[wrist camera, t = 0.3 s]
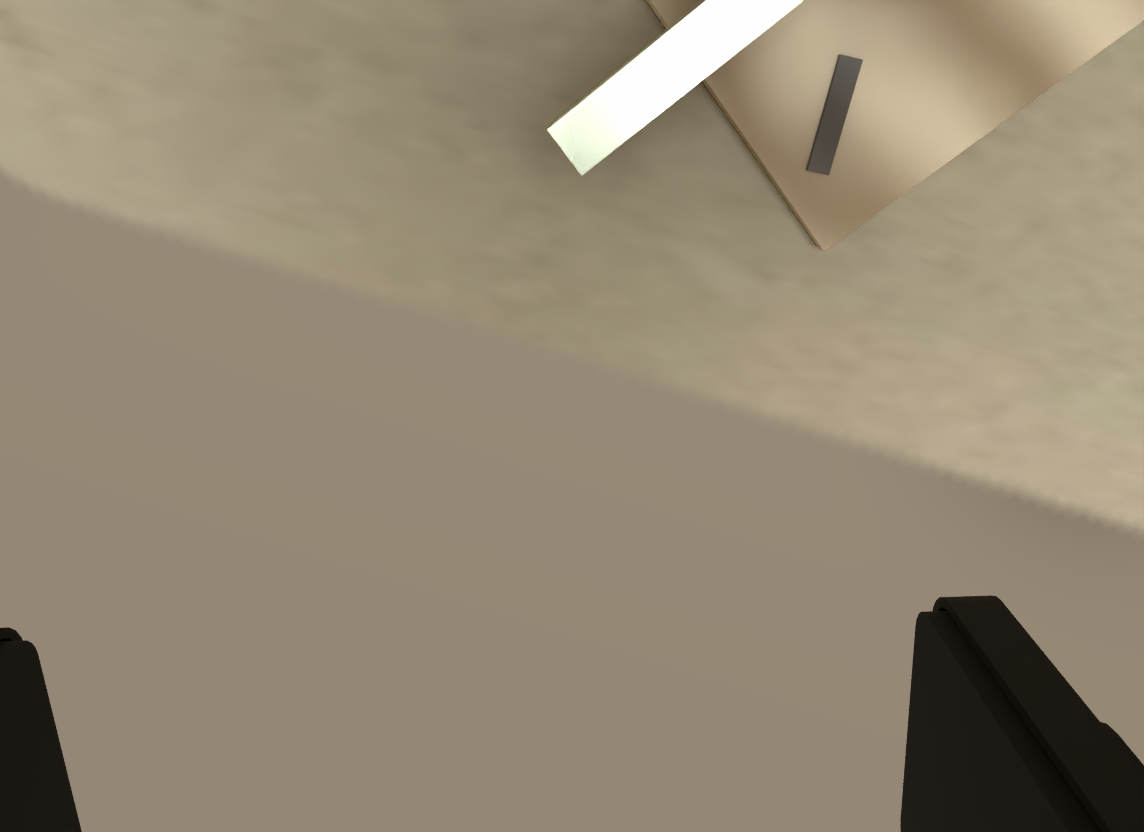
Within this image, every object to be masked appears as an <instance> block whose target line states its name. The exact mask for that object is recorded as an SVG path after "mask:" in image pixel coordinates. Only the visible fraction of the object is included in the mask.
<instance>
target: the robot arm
mask: <svg viewBox="0 0 1144 832" xmlns="http://www.w3.org/2000/svg"><path fill="white" fill-rule="evenodd" d="M0 832H81V827H80V823H79V819H78V815H77V811H76V807H75V803H74V799H73V795H72V791H71V787H70V782H69V779H68V775H67V771H66V766H65V762H64V758H63V754H62V750H61V746H60V742H59V738H58V734H57V729H56V725H55V721H54V717H53V713H52V709H51V705H50V701H49V697H48V693H47V689H46V685H45V680H44V676H43V673H42V669H41V664H40V660H39V656H38V653H37V650H36V648H35V646H34V645H33V644H32V643H31V642H29V641H23V640H22V638H21V637H20V635H19V634H18V633H17V631H16V630H13V629H11V628H0ZM901 832H1144V765H1143V764H1142V763H1141V762H1140V760H1139V759H1138V758H1137V757H1136V755H1134V753H1133V752H1132V751H1131V749H1130V748H1129V747H1128V746H1127V745H1126V743H1125V742H1124V741H1123V740H1122V739H1121V737H1120V736H1119V735H1118V734H1117V733H1116V732H1115V731H1114V730H1113V729H1112V728H1111V727H1110V726H1108V725H1107V724H1105V723H1102V722H1100V721H1099V720H1098V719H1097V718H1096V717H1095V715H1094V714H1093V713H1092V711H1091V710H1090V709H1089V708H1088V707H1087V705H1086V704H1085V703H1084V702H1083V701H1082V699H1081V698H1080V697H1079V695H1078V694H1077V693H1076V692H1075V691H1074V689H1073V688H1072V687H1071V686H1070V685H1069V683H1068V682H1067V681H1066V680H1065V678H1064V677H1063V676H1062V675H1061V673H1060V672H1059V671H1058V670H1057V668H1056V667H1055V666H1054V665H1053V664H1052V663H1051V661H1050V660H1049V659H1048V657H1047V656H1046V655H1045V654H1044V652H1043V651H1042V650H1041V649H1040V648H1039V646H1038V645H1037V644H1036V643H1035V641H1034V640H1033V639H1032V638H1031V637H1030V635H1029V634H1028V633H1027V632H1026V630H1025V629H1024V628H1023V627H1022V625H1021V624H1020V623H1019V622H1018V621H1017V620H1016V618H1015V617H1014V616H1013V615H1012V614H1011V612H1010V611H1009V610H1008V608H1007V607H1006V606H1005V605H1004V603H1003V602H1002V601H1001V600H1000V599H999V598H998V597H996V596H969V597H968V596H967V597H966V596H965V597H940V598H938V599H937V600H936V602H935V605H934V607H933V611H932V612H920V613H919V615H918V617H917V620H916V627H915V642H914V654H913V667H912V679H911V692H910V706H909V718H908V731H907V744H906V757H905V771H904V783H903V796H902V809H901Z"/></svg>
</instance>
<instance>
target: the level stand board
mask: <svg viewBox="0 0 1144 832" xmlns="http://www.w3.org/2000/svg"><path fill="white" fill-rule="evenodd" d="M646 1H647V2H648V4H649V5H650V6H651V8H652V9H653V11H654V12H655V14H656V15H657V17H658V18H659V19H660V21H661V22H662V24H663V25H664V27H665V28H666V29H667V28H668V27H670V26H671V25H672V24H673V23H675V22H676V21H677V20H678V19H679V18H681V17H682V16H683V15H684V14H686V13H687V12H688V11H689V10H691V9H692V8H693V7H694V6H695V5H697V4H698V3H699V2H700V1H702V0H646ZM1143 20H1144V0H803V1H802V2H801V3H800V4H798V5H797V6H796V7H795V8H793V9H792V10H791V11H790V12H788V13H787V14H786V15H784V16H783V17H782V18H781V19H779V20H778V21H777V22H776V23H774V24H773V25H772V26H771V27H769V28H768V29H767V30H765V31H764V32H763V33H762V34H760V35H759V36H758V37H757V38H755V39H754V40H753V41H752V42H750V43H749V44H748V45H747V46H745V47H744V48H743V49H741V50H740V51H739V52H738V53H736V54H735V55H734V56H733V57H731V58H730V59H729V60H728V61H726V62H725V63H724V64H722V65H721V66H720V67H719V68H717V69H716V70H715V71H714V72H712V73H711V74H710V75H709V76H707V77H706V78H705V79H704V80H702V81H703V83H704V84H705V86H706V87H707V89H708V90H709V92H710V93H711V94H712V96H713V97H714V99H715V100H716V102H717V103H718V105H719V106H720V107H721V109H722V110H723V112H724V113H725V115H726V116H727V117H728V119H729V120H730V122H731V123H732V125H733V126H734V128H735V129H736V130H737V132H738V133H739V135H740V136H741V138H742V139H743V141H744V142H745V143H746V145H747V146H748V148H749V149H750V151H751V152H752V154H753V155H754V156H755V158H756V159H757V161H758V162H759V164H760V165H761V166H762V168H763V169H764V171H765V172H766V174H767V175H768V177H769V178H770V179H771V181H772V182H773V184H774V185H775V187H776V188H777V190H778V191H779V192H780V194H781V195H782V197H783V198H784V200H785V201H786V203H787V204H788V205H789V207H790V208H791V210H792V211H793V213H794V214H795V216H796V217H797V218H798V220H799V221H800V223H801V224H802V226H803V227H804V228H805V230H806V231H807V233H808V234H809V236H810V237H811V239H812V240H813V241H814V243H815V244H816V246H817V247H818V248H820V249H821V250H823V251H826V250H827V249H829V248H830V247H831V246H833V245H834V244H835V243H837V242H838V241H840V240H841V239H842V238H844V237H845V236H846V235H848V234H849V233H851V232H852V231H853V230H855V229H856V228H858V227H859V226H860V225H862V224H863V223H864V222H866V221H867V220H869V219H870V218H871V217H873V216H874V215H875V214H877V213H878V212H880V211H881V210H882V209H884V208H885V207H887V206H888V205H889V204H891V203H892V202H893V201H895V200H896V199H898V198H899V197H900V196H902V195H903V194H904V193H906V192H907V191H909V190H910V189H911V188H913V187H914V186H915V185H917V184H918V183H920V182H921V181H922V180H924V179H925V178H927V177H928V176H929V175H931V174H932V173H933V172H935V171H936V170H938V169H939V168H940V167H942V166H943V165H944V164H946V163H947V162H949V161H950V160H951V159H953V158H954V157H956V156H957V155H958V154H960V153H961V152H962V151H964V150H965V149H967V148H968V147H969V146H971V145H972V144H973V143H975V142H976V141H978V140H979V139H980V138H982V137H983V136H985V135H986V134H987V133H989V132H990V131H991V130H993V129H994V128H996V127H997V126H998V125H1000V124H1001V123H1002V122H1004V121H1005V120H1007V119H1008V118H1009V117H1011V116H1012V115H1013V114H1015V113H1016V112H1018V111H1019V110H1020V109H1022V108H1023V107H1025V106H1026V105H1027V104H1029V103H1030V102H1031V101H1033V100H1034V99H1036V98H1037V97H1038V96H1040V95H1041V94H1042V93H1044V92H1045V91H1047V90H1048V89H1049V88H1051V87H1052V86H1054V85H1055V84H1056V83H1058V82H1059V81H1060V80H1062V79H1063V78H1065V77H1066V76H1067V75H1069V74H1070V73H1071V72H1073V71H1074V70H1076V69H1077V68H1078V67H1080V66H1081V65H1083V64H1084V63H1085V62H1087V61H1088V60H1089V59H1091V58H1092V57H1094V56H1095V55H1096V54H1098V53H1099V52H1100V51H1102V50H1103V49H1105V48H1106V47H1107V46H1109V45H1110V44H1112V43H1113V42H1114V41H1116V40H1117V39H1118V38H1120V37H1121V36H1123V35H1124V34H1125V33H1127V32H1128V31H1129V30H1131V29H1132V28H1134V27H1135V26H1136V25H1138V24H1139V23H1140V22H1142V21H1143Z"/></svg>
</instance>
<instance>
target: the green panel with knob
mask: <svg viewBox="0 0 1144 832" xmlns="http://www.w3.org/2000/svg"><path fill="white" fill-rule="evenodd" d="M802 1H803V0H702V1H700V2H699V3H698V4H697V5H695V6H694V7H693V8H692V9H691V10H689V11H688V12H687V13H686V14H684V15H683V16H682V17H681V18H679V19H678V20H677V21H676V22H675V23H673V24H672V25H671V26H670V27H668V28H667V29H666V30H665V31H663V32H662V33H661V34H660V35H658V36H657V37H656V38H655V39H654V40H652V41H651V42H650V43H649V44H647V45H646V46H645V47H644V48H642V49H641V50H640V51H639V52H638V53H636V54H635V55H634V56H633V57H631V58H630V59H629V60H628V61H626V62H625V63H624V64H623V65H621V66H620V67H619V68H618V69H617V70H615V71H614V72H613V73H612V74H610V75H609V76H608V77H607V78H605V79H604V80H603V81H602V82H601V83H599V84H598V85H597V86H596V87H594V88H593V89H592V90H591V91H589V92H588V93H587V94H586V95H585V96H583V97H582V98H581V99H580V100H578V101H577V102H576V103H575V104H573V105H572V106H571V107H570V108H568V109H567V110H566V111H565V112H564V113H562V114H561V115H560V116H559V117H557V118H556V119H555V120H554V121H553V122H552V124H551V125H550V126H549V128H548V129H547V130H548V132H549V133H550V134H551V136H552V137H553V138H554V140H555V141H556V142H557V144H558V145H559V146H560V148H561V149H562V150H563V152H564V153H565V154H566V156H567V157H568V158H569V160H570V161H571V162H572V164H573V165H574V166H575V168H576V169H577V170H578V172H579V173H580V174H581V176H582V175H583V174H585V173H586V172H587V171H588V170H590V169H591V168H592V167H593V166H595V165H596V164H597V163H599V162H600V161H601V160H602V159H604V158H605V157H606V156H607V155H609V154H610V153H611V152H612V151H614V150H615V149H616V148H617V147H619V146H620V145H621V144H623V143H624V142H625V141H626V140H628V139H629V138H630V137H631V136H633V135H634V134H635V133H636V132H638V131H639V130H640V129H642V128H643V127H644V126H645V125H647V124H648V123H649V122H650V121H652V120H653V119H654V118H655V117H657V116H658V115H659V114H661V113H662V112H663V111H664V110H666V109H667V108H668V107H669V106H671V105H672V104H673V103H674V102H676V101H677V100H678V99H679V98H681V97H682V96H683V95H685V94H686V93H687V92H688V91H690V90H691V89H692V88H693V87H695V86H696V85H697V84H698V83H700V82H701V81H702V80H704V79H705V78H706V77H707V76H709V75H710V74H711V73H712V72H714V71H715V70H716V69H717V68H719V67H720V66H721V65H722V64H724V63H725V62H726V61H728V60H729V59H730V58H731V57H733V56H734V55H735V54H736V53H738V52H739V51H740V50H741V49H743V48H744V47H745V46H747V45H748V44H749V43H750V42H752V41H753V40H754V39H755V38H757V37H758V36H759V35H760V34H762V33H763V32H764V31H765V30H767V29H768V28H769V27H771V26H772V25H773V24H774V23H776V22H777V21H778V20H779V19H781V18H782V17H783V16H784V15H786V14H787V13H788V12H790V11H791V10H792V9H793V8H795V7H796V6H797V5H798V4H800V3H801V2H802Z"/></svg>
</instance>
